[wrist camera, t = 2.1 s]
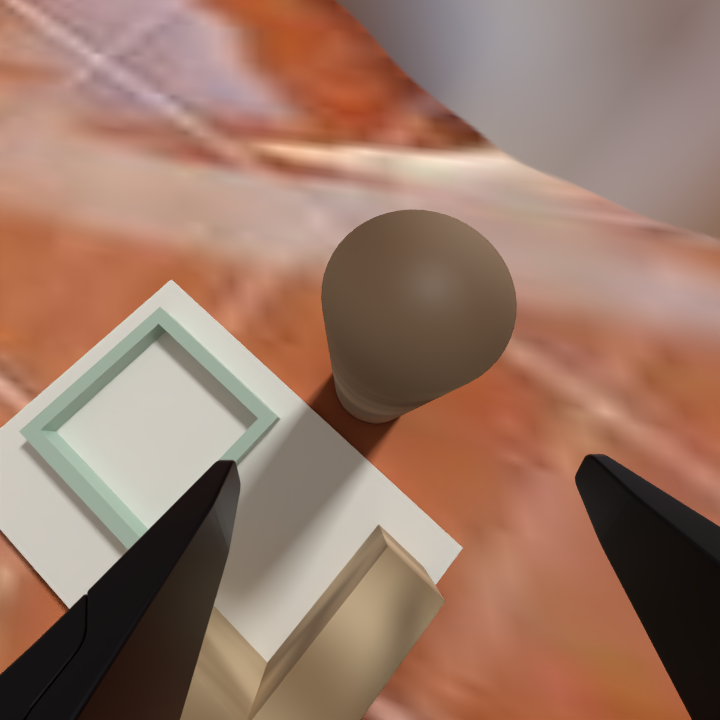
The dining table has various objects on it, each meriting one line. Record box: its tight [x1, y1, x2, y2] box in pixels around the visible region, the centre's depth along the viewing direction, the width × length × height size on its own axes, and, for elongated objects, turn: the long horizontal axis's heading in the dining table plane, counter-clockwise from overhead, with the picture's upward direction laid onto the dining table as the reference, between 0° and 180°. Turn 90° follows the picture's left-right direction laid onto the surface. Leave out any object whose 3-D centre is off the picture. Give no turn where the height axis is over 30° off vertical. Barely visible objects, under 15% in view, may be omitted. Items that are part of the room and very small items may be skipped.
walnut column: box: [321, 210, 517, 424], centre depth 14 cm, size 5×5×12 cm
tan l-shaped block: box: [180, 524, 445, 720], centre depth 15 cm, size 11×10×4 cm
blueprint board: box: [0, 280, 462, 662], centre depth 18 cm, size 14×22×2 cm, turn 48°
